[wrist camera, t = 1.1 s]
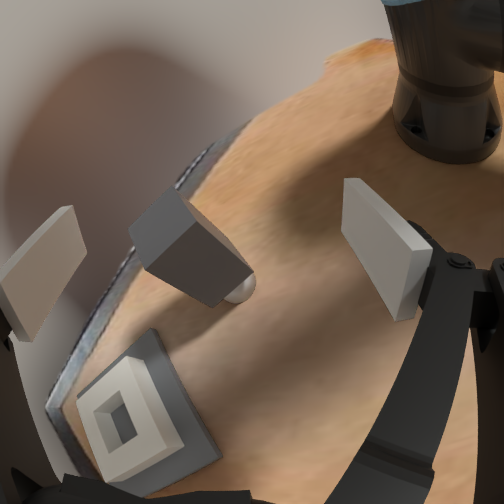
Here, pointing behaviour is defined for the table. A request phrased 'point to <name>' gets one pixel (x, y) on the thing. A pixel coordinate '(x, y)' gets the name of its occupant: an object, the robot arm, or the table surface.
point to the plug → (190, 252)
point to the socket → (144, 421)
